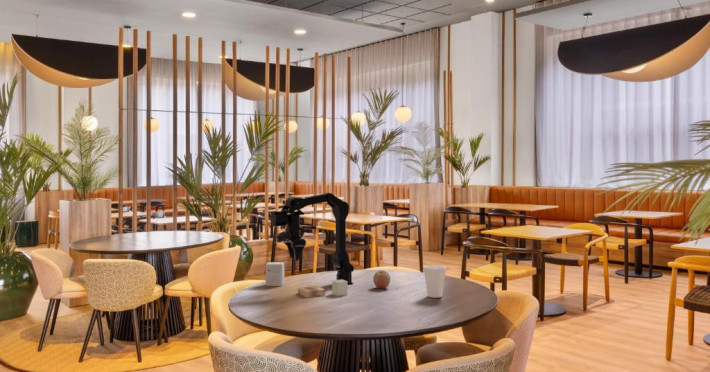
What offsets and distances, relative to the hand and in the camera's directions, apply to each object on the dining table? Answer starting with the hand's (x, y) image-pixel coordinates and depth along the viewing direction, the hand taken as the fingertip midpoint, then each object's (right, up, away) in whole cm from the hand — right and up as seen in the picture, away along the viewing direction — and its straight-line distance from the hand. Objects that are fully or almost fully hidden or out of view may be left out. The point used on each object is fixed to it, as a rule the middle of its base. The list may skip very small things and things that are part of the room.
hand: (294, 259), depth 267 cm
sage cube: (+21, -15, -9) cm, 27 cm away
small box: (-10, -14, +13) cm, 22 cm away
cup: (+62, -15, -15) cm, 65 cm away
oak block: (+8, -15, -9) cm, 19 cm away
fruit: (+40, -14, +4) cm, 43 cm away
